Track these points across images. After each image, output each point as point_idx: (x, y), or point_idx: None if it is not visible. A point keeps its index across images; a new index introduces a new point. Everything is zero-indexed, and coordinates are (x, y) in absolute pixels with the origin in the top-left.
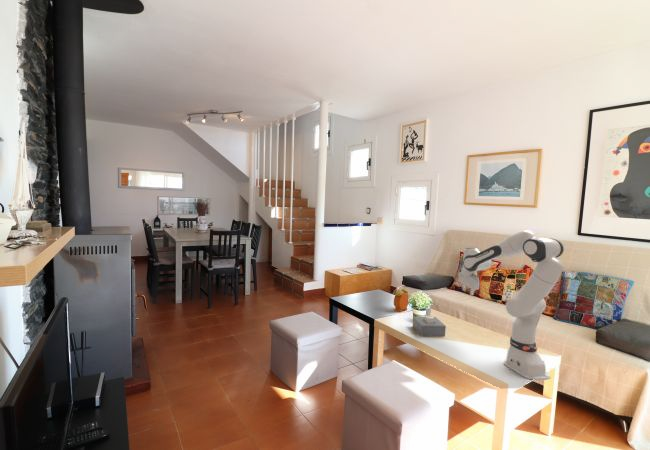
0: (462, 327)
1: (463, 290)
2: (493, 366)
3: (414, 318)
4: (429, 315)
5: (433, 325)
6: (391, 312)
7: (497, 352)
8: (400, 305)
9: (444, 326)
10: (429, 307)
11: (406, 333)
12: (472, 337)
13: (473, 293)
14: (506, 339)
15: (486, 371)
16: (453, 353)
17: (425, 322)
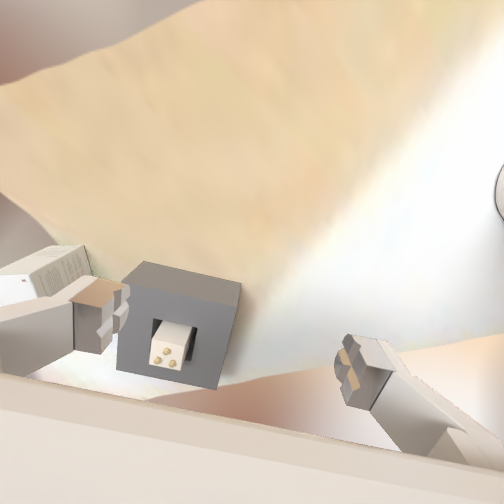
0: (165, 130)
1: (121, 322)
2: (491, 285)
3: (131, 371)
4: (65, 262)
5: (221, 350)
6: None
7: (435, 182)
8: None
9: (236, 310)
10: (23, 279)
11: (192, 385)
12: (281, 174)
13: (398, 361)
14: None
15: (495, 327)
16: None
17: (185, 361)
